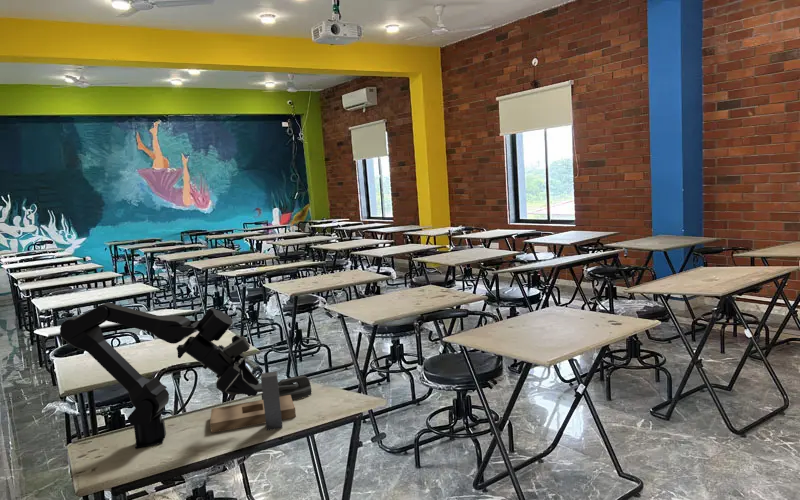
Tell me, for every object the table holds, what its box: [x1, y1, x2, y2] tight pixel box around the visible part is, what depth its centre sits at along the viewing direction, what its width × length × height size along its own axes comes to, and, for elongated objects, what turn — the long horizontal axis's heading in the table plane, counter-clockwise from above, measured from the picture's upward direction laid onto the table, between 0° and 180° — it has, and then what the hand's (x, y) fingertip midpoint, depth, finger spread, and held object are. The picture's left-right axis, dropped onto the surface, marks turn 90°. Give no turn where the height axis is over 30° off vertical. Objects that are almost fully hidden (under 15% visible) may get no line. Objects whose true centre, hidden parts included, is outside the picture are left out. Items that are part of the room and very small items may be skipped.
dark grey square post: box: [260, 371, 283, 431], centre depth 148 cm, size 4×4×14 cm
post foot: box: [209, 395, 297, 434], centre depth 156 cm, size 22×12×2 cm, turn 107°
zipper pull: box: [226, 375, 312, 401], centre depth 169 cm, size 9×7×25 cm
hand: (257, 388), depth 147 cm, fingers open, 9 cm apart
